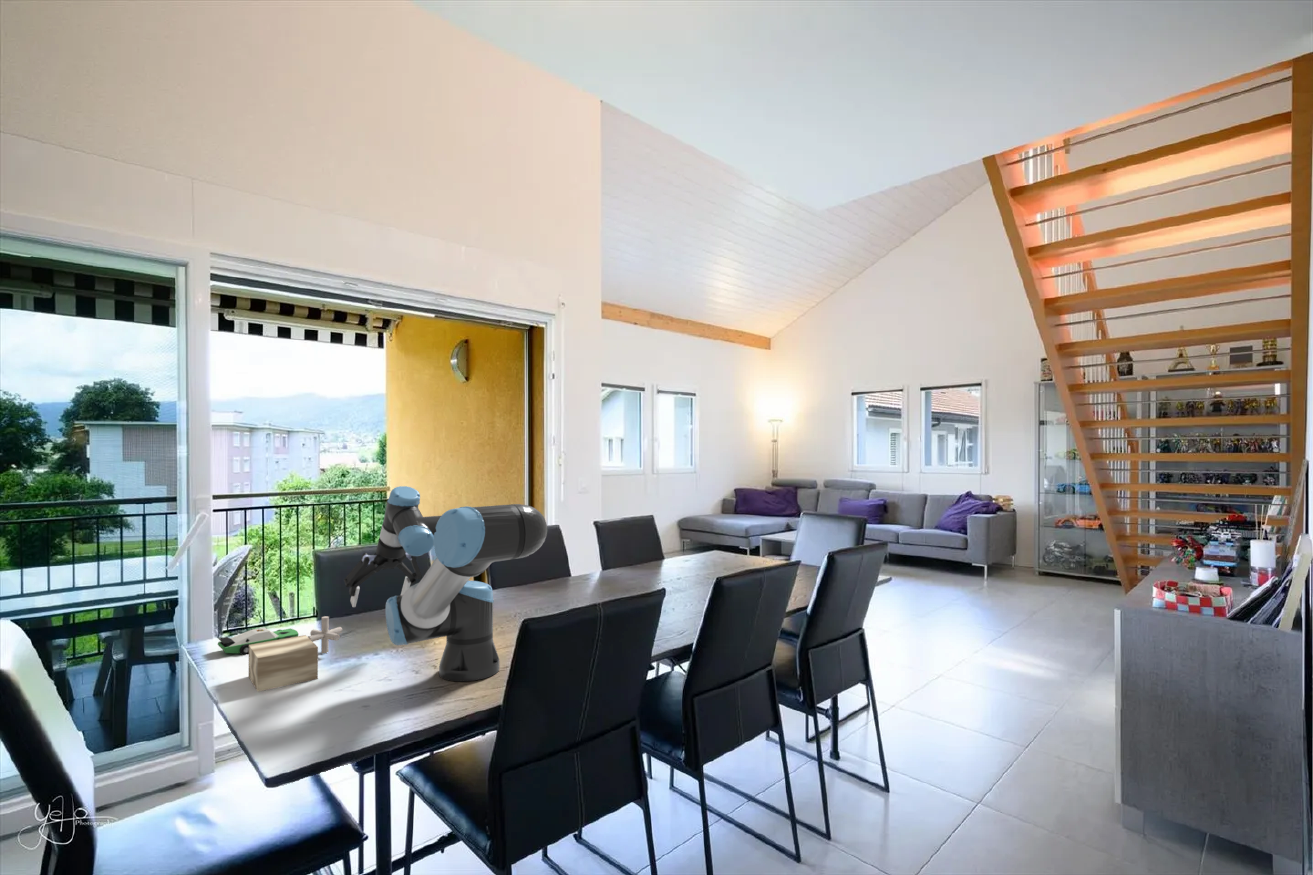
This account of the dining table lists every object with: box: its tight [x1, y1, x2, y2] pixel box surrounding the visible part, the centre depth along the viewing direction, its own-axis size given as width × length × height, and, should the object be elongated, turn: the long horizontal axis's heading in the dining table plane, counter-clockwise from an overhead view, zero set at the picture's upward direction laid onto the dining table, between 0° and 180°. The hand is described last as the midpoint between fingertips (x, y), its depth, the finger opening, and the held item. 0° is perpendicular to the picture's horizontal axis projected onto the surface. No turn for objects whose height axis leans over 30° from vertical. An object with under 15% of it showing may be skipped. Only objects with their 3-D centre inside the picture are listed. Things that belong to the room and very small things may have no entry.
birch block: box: [248, 634, 319, 693], centre depth 163 cm, size 13×13×8 cm
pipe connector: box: [307, 615, 343, 654], centre depth 182 cm, size 10×10×10 cm
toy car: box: [217, 627, 299, 656], centre depth 187 cm, size 10×19×5 cm, turn 135°
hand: (378, 600), depth 180 cm, fingers open, 13 cm apart
